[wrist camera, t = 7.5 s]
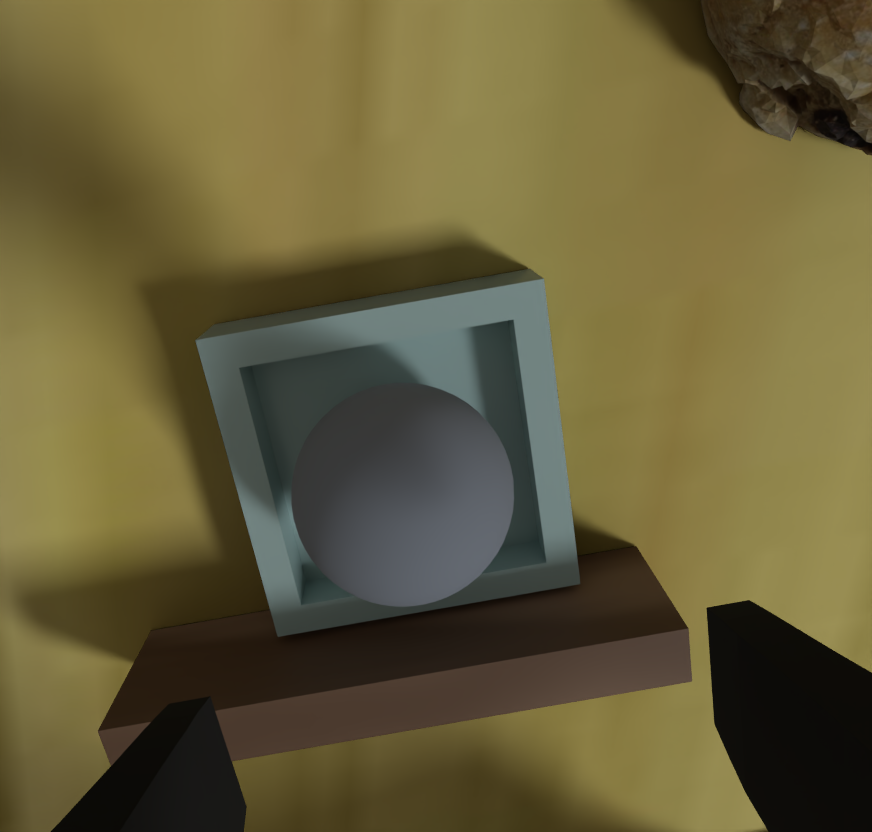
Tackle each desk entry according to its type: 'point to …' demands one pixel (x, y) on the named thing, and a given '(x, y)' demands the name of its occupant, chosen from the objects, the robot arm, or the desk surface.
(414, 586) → the ball
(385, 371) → the dish
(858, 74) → the bread roll
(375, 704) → the rail
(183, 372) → the desk surface
